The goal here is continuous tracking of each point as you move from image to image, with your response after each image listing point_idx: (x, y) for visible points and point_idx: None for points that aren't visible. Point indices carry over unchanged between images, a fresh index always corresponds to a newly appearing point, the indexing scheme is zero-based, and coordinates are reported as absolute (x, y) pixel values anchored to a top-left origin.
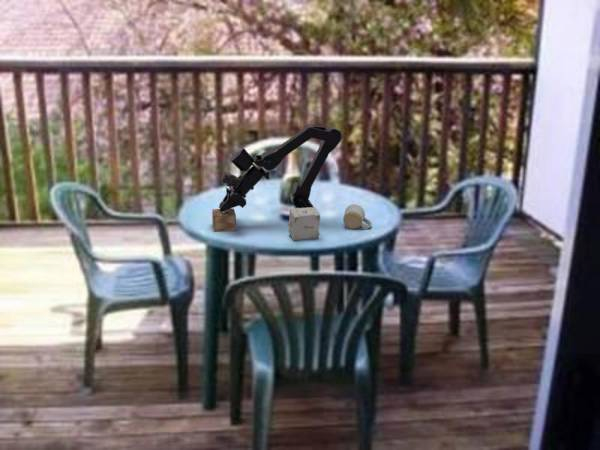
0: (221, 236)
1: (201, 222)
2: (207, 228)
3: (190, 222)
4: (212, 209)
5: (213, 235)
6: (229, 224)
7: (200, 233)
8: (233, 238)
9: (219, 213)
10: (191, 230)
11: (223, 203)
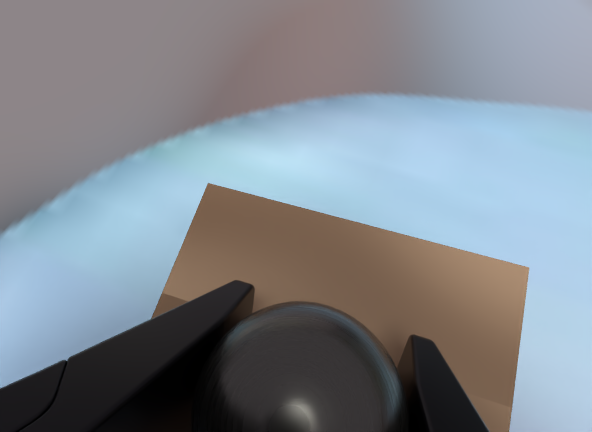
0: (110, 256)
1: (548, 226)
2: (355, 220)
3: (571, 140)
4: (514, 266)
5: (167, 206)
6: None
7: (259, 134)
8: (9, 332)
9: (271, 293)
10: (356, 96)
11: (221, 376)
